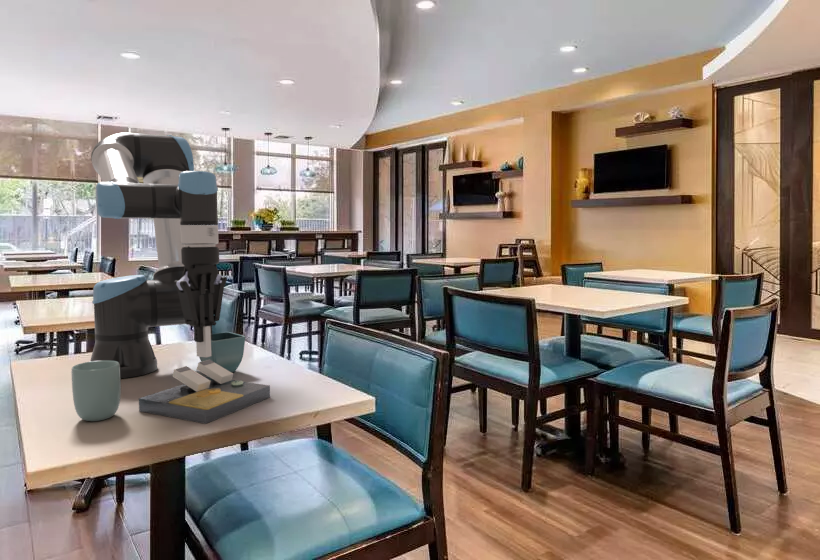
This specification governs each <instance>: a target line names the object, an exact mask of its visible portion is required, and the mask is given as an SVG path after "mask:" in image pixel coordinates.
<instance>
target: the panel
mask: <svg viewBox="0 0 820 560" xmlns="http://www.w3.org/2000/svg"><path fill="white" fill-rule="evenodd" d="M204 377H205V376H204ZM205 378H207V379H208V380H210V381H211V382H210V386H209V388H207V389H204V390H201V391H198V392H196V391H195V390H193V389H191V388H190V387H188V386H187V385H185V384H184V383H182V384H180V385H176V386H174V387H171V388H168V389H167V388H166V389H164V390H160V391H159V392H154V393H152V394H148V395H146V396H142V397H139V398H138V412H142V413H147V414H153V415H158V416H164V417H169V418H173V419H179V420H184V421H190V422H193V423H194V422H195V423H200V424H204V425H206V424H208V423H211V422H213V421H216V420H218V419H221V418H223V417H226V416H228V415H230V414H232V413H235V412H237V411H240V410H243V409H245V408H248V407H250V406H253V405H255V404H257V403H260V402H262V401H266V400H267V399H269V398H271V386H270V385H269V384H268V385H267V384H263V383H256V382H248V381H243V380H233V379H232V380H231V381H228V382H225V383H222V384H220V383H218V382H217V381H215V380H213V379H212V378H210V377H208V376H206V377H205Z"/></svg>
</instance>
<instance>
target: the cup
mask: <svg viewBox="0 0 820 560" xmlns="http://www.w3.org/2000/svg"><path fill="white" fill-rule="evenodd" d="M70 373H71V374H70V375H71V389H72V391H71V392H72V399H73V405H74V410H75V412H76V414H77V416H78V418H80V419H81V420H84V421H87V422H101V421H104V420H108V419H109V418H112V417H113V416H115V414H116V413H117V412H118V410H119V407H120V403H121V393H122V390H121V389H122V388H121V387H122V385H121V380H122V378H120V365H119V362H117V361H109V360H106V361H91V362H90V361H85V362H82V363H78V364H74V365H73V366H72V367H71V372H70Z"/></svg>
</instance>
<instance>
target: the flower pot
mask: <svg viewBox="0 0 820 560" xmlns="http://www.w3.org/2000/svg"><path fill="white" fill-rule="evenodd" d="M245 344H246V336H245V335H242V334H239V333H235V332H230V331H223V332H217V333H212V340H211V356H210V357H198V358H199V360H200V362H203V361H206V360H211V361H213V362H214V363H216V364H218V365H220V366H221V367H223V368H225V369H226V370H228V371H230V372H231V373H235V372H236V371H237V370H238V368H239V367H240V365H241V362H242V360H243V357H244V353H245Z"/></svg>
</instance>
